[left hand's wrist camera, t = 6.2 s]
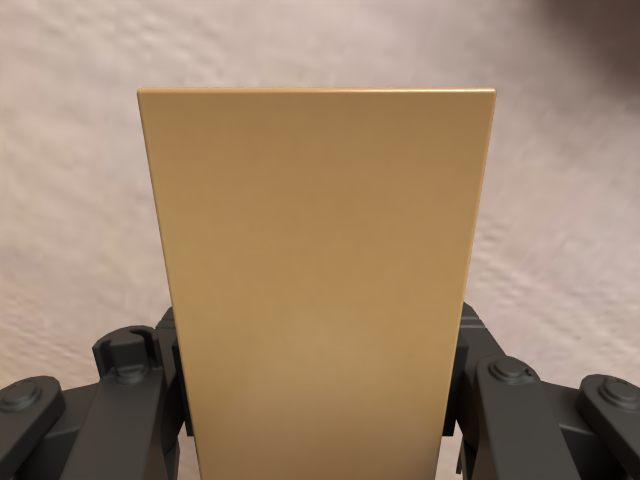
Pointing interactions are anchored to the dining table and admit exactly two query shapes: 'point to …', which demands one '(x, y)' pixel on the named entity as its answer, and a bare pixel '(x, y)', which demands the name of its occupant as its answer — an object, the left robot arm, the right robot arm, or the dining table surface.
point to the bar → (317, 269)
